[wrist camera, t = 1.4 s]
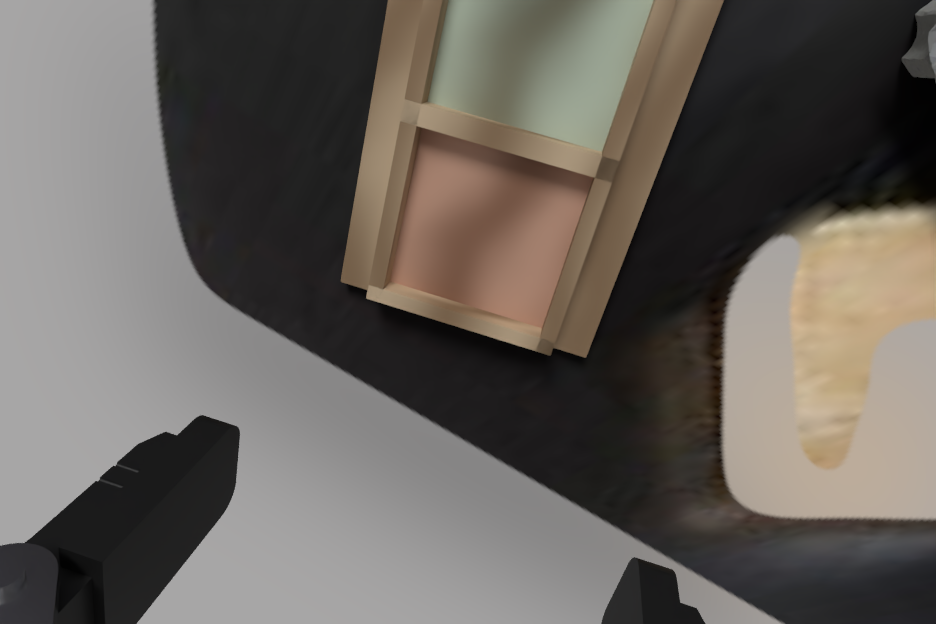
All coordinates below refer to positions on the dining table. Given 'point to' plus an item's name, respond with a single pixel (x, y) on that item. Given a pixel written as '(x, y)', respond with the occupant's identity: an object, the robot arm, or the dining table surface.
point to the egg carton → (923, 44)
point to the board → (516, 157)
